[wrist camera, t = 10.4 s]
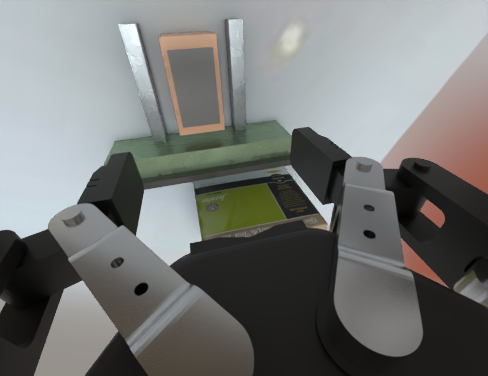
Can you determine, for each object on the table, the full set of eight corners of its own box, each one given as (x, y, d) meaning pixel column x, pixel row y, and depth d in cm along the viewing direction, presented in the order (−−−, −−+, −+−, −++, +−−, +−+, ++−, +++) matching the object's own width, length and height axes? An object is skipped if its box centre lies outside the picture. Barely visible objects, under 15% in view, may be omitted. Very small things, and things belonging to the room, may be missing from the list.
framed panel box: (208, 31, 25) (217, 33, 20) (217, 112, 30) (225, 131, 25) (161, 33, 24) (157, 37, 19) (179, 117, 29) (180, 137, 24)
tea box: (199, 220, 40) (209, 298, 29) (191, 173, 34) (200, 249, 23) (277, 206, 43) (315, 273, 32) (283, 161, 37) (331, 223, 26)
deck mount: (281, 17, 25) (311, 15, 20) (274, 141, 35) (294, 164, 29) (67, 26, 22) (29, 28, 16) (124, 163, 31) (113, 194, 25)
